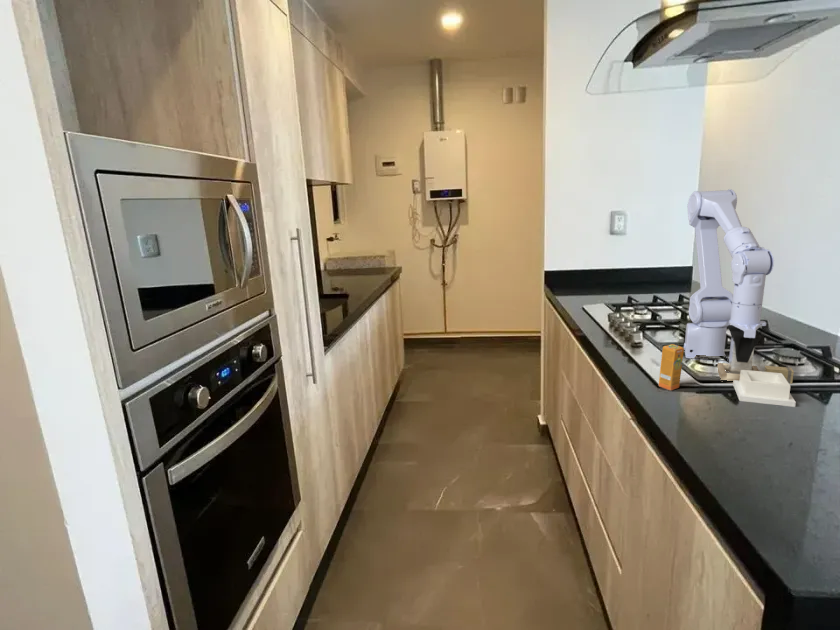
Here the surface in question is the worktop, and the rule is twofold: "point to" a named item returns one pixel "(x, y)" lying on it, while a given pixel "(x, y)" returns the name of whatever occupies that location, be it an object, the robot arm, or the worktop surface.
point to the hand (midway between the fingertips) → (740, 358)
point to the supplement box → (671, 367)
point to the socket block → (730, 376)
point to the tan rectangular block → (785, 371)
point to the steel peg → (738, 366)
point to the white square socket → (763, 388)
